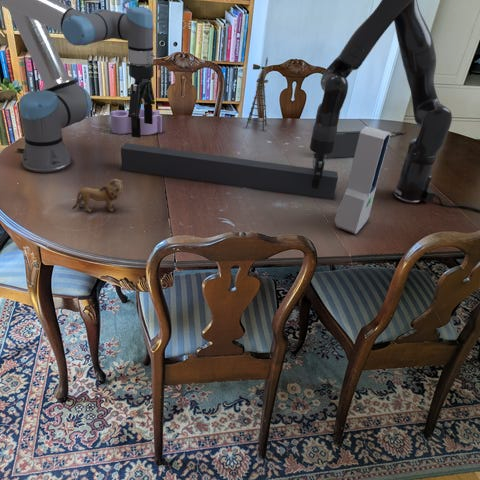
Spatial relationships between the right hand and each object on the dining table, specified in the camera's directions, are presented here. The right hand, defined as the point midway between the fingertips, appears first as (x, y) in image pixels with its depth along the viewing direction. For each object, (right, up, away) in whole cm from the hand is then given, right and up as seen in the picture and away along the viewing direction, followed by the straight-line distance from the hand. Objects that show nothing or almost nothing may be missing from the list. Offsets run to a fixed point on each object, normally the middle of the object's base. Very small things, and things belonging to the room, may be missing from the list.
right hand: (314, 182), depth 157 cm
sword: (+41, +27, +57) cm, 75 cm away
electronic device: (+9, -14, -13) cm, 22 cm away
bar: (-30, +1, +4) cm, 30 cm away
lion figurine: (-67, -10, -19) cm, 70 cm away
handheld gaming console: (+18, +15, +34) cm, 41 cm away
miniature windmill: (-18, +32, +54) cm, 66 cm away
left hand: (-58, +17, -2) cm, 60 cm away
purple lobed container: (-68, +26, +37) cm, 82 cm away
